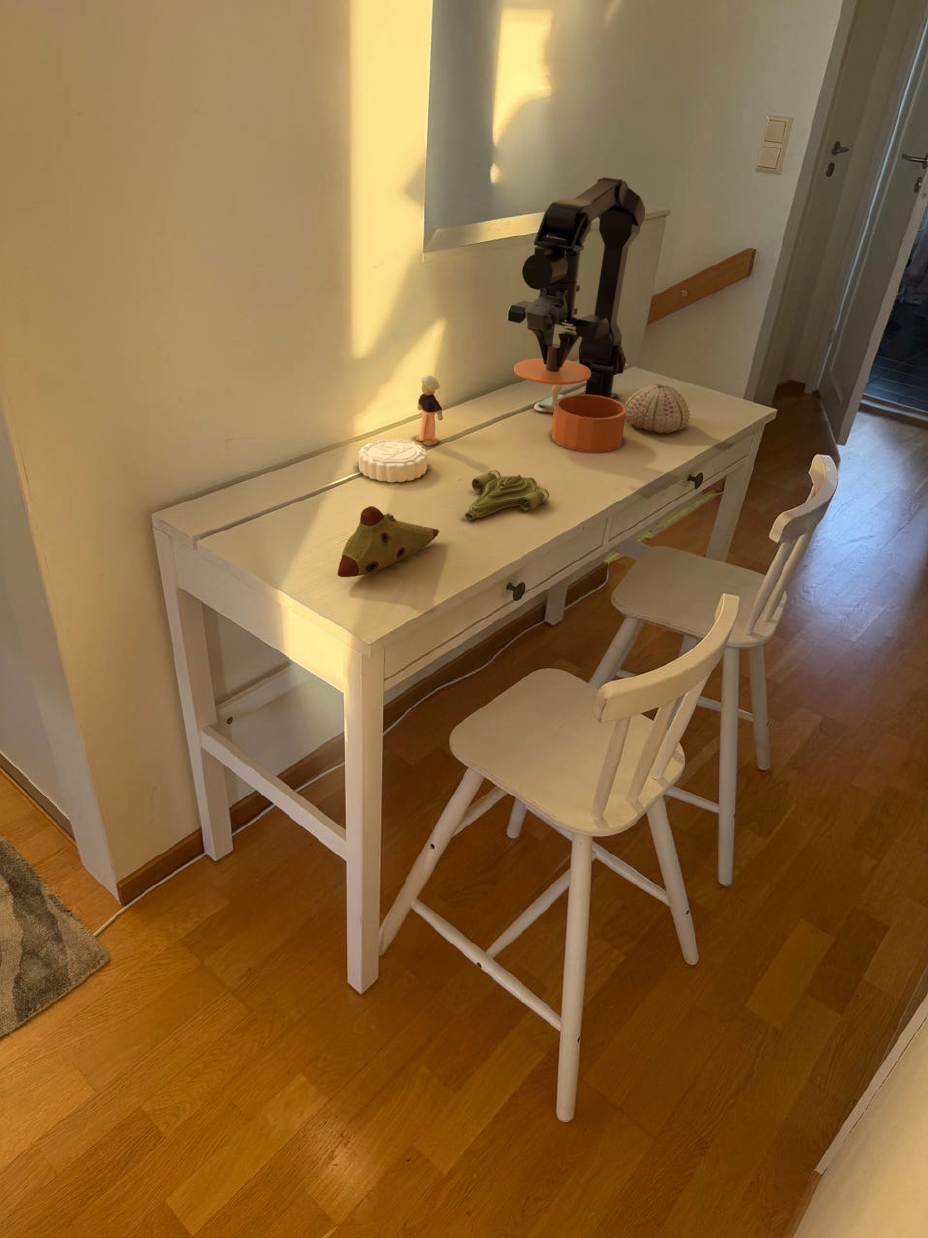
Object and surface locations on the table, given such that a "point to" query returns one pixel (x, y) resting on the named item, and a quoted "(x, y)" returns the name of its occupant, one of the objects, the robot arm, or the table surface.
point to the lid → (552, 369)
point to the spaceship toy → (504, 494)
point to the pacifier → (549, 400)
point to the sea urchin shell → (657, 409)
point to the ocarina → (381, 543)
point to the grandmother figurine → (428, 410)
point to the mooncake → (392, 460)
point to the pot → (588, 422)
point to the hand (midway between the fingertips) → (552, 365)
